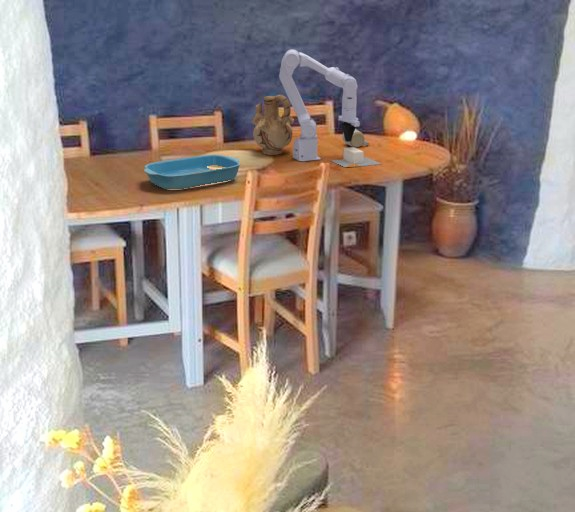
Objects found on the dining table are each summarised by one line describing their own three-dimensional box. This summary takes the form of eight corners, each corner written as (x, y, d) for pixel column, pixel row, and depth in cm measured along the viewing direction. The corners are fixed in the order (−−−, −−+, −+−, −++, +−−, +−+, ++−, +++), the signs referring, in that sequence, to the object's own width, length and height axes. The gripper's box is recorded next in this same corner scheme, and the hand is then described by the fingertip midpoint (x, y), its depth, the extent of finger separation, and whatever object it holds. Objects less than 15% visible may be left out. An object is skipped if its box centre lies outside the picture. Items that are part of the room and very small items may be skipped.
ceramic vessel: (294, 148, 379) (294, 89, 371) (296, 158, 361) (296, 97, 353) (251, 148, 379) (250, 89, 370) (251, 158, 361) (250, 97, 352)
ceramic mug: (349, 148, 379) (350, 131, 376) (341, 144, 386) (342, 127, 383) (371, 147, 383) (372, 129, 380) (363, 143, 390) (364, 126, 387)
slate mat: (345, 168, 346) (345, 167, 346) (331, 161, 357) (331, 160, 357) (381, 164, 352) (381, 163, 352) (366, 157, 363) (366, 157, 363)
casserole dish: (161, 196, 307) (160, 176, 305) (134, 183, 325) (133, 164, 322) (251, 182, 326) (251, 163, 324) (221, 169, 344) (221, 151, 342)
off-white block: (343, 158, 360) (353, 163, 352) (343, 148, 358) (353, 152, 350) (352, 157, 361) (363, 162, 354) (353, 147, 360) (363, 151, 352)
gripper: (366, 110, 349) (365, 143, 354) (349, 104, 362) (348, 136, 366) (350, 111, 346) (349, 145, 351) (334, 105, 359) (333, 138, 363)
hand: (348, 141), depth 358 cm, fingers closed
